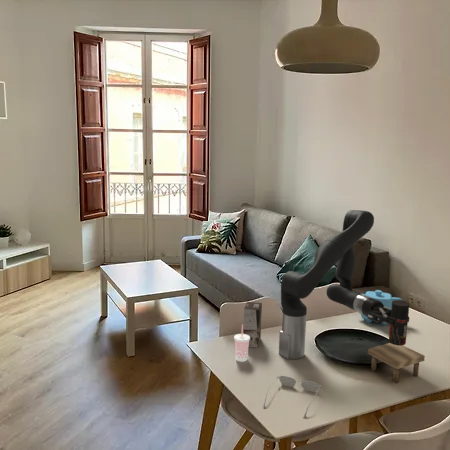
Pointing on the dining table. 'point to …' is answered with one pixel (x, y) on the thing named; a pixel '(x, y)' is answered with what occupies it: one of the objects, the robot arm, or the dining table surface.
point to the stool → (395, 358)
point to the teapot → (382, 297)
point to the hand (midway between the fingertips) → (402, 321)
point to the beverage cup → (241, 346)
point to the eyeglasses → (291, 383)
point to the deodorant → (399, 322)
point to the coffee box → (253, 322)
